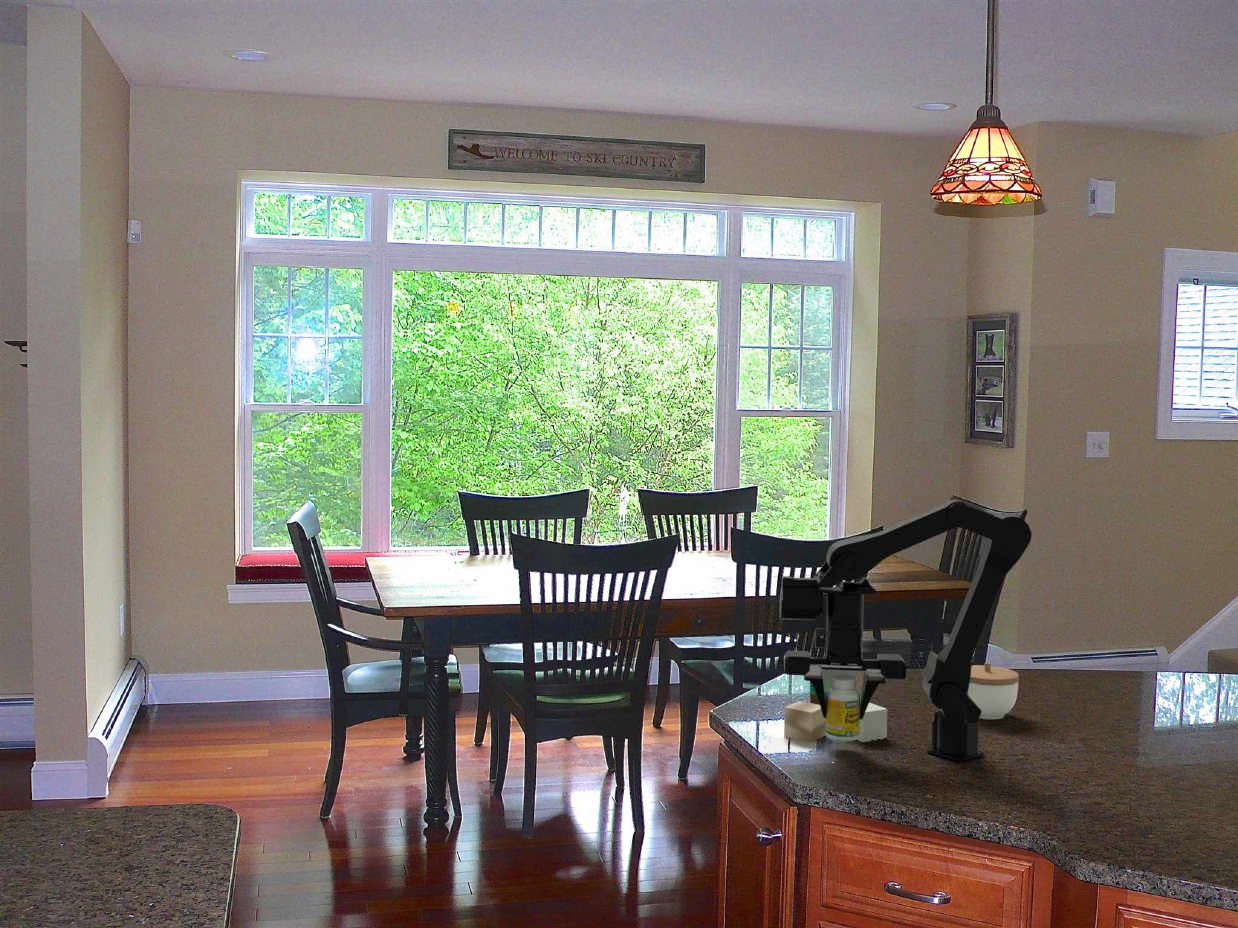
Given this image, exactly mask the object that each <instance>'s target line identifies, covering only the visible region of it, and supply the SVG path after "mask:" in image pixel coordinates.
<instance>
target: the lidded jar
mask: <svg viewBox="0 0 1238 928" xmlns="http://www.w3.org/2000/svg"><path fill="white" fill-rule="evenodd" d="M991 664H992V663H991V662H987V661H986V662H984V665H979V664H977V665H975V664H973V665H972V666H971V679H970V684H969V689H968V695H969V696H970V698H971V699H972V700H973V701H974V702H975V704H976V705H977V706H978V707H979V708H980V710H981V711H982V712H981V715H980V717H979V719H981V720H1000V719H1003V718H1004V717H1005V715H1006V714H1008V713H1009V712H1010V711H1011V710H1012V708H1013V707H1014V705H1015V704H1016V700H1017V696H1018V692H1019V691H1018V690H1019V681H1020V675H1019V673H1018V672H1017V671H1015V670H1012V669H1010V668H1006V667H1001V666H1000V667H999V666H993V665H991Z"/></svg>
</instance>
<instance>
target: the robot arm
mask: <svg viewBox="0 0 1238 928" xmlns="http://www.w3.org/2000/svg"><path fill="white" fill-rule="evenodd" d="M956 528H960V529H961V528H962V529H964V530H966V531H968V532H971V533H974V534H977V535H979V536H980V537H981V542H980V550H979V551H980V552H979V563H978V565H977V566H978V567H977V569H976V570H975V571H976V572H975V574H974V576H973V579H972V581H971V584H970V586H969V589H968V591H967V593H966V595H965V599H964V601H963V604H962V606H961V608H960V611H959V613H958V614H957V615H958V616H957V619H956V621H955V623H954V626H953V628H952V630H951V634H950V635H949V638H948V641H947V643H946V645H945V646H944V647H943V648H942V650H941V651H939V653H938V654H937V653H935V652H934V651H932V650H930V651H929V654H928V658H927V662H926V665H925V666H924V668H923V669H922V670H921V671H920V675H921V676H922V677H923V678H922V687H923V690H924V692H925V694H926V695H927V697H928V698H929V700H930V701H931V702H932V704H933V705H934V706H935V707H936V708H937V709H938V711H934V713H933V717H934V718H933V720H932V721H931V743H930V744H931V746H932V747H928V748H927V749H926V752H927V753H930V754H932V755H935V756H939V757H943V758H946V759H948V760H949V759H950V760H953V761H956V762H959V763H960V762H965V761H968V760H971V759H975V758H977V757H978V758H979V757H982V756H985V751H984V750H980V749H979V739H980V738H979V737H980V736H979V734H980V733H979V732H980V718H979V717H980V715H981V712H982V711H981V710H980V708H979V707H978V706H977V705H976V704H975V702H974V701H973V700H972V699H971V698H970V696H969V695H968V689H969V684H970V679H971V666H972V663H973V658H974V657H973V656H975V652H976V651H977V650H976V649H977V647H978V644H979V642H980V640H981V637H982V635H983V632H984V630H985V627H986V625H987V623H988V620H989V618H990V615H991V613H992V610H993V609H994V605H995V603H996V600H997V598H998V595H999V593H1000V590H1001V588H1002V586H1003V583H1004V581H1005V578H1006V576H1007V575H1008V573H1010V571H1011V570H1012V569H1013V568H1014V566H1015V565H1016V564H1017V563H1018V562H1019V561H1020V560H1021V558H1022V556H1023V555H1024V554H1025V552H1026V550H1027V549H1028V547H1029V545H1030V543H1031V541H1032V534H1033V533H1032V530H1031V528H1030V526H1029V524H1028V523H1027V522H1026V521H1025V520H1024V519H1022V518H1021V517H1019V516H1016V515H1014V514H1011V513H1007V512H998V513H995V514H992V513H989V512H987V511H985V510H981V509H978V508H976V507H973V506H970V505H968V504H967V503H965V502H963V501H961V500H958V499H949V500H946V501H945V502H944V503H943V504H940V505H939V506H937V507H934V508H932V509H930V510H927V511H925V512H923V513H920V514H918V515H915V516H913V517H911V518H909V519H907V520H904V521H902V522H899V523H897V524H895V525H893V526H890V527H888V528H886V529H883V530H881V531H879V532H874V533H870V534H863V535H858V536H854V537H849V538H845V539H841V540H838V541H836V542H834V543H833V544H831V545H830V546H829V548H828V550H827V552H826V561H825V562H824V563H823V564H822V566H821V567H820V568H819V569H818V570H817V571H816V573H815V575H814V576H813V577H794V576H789V575H788V576H787V575H783V576H782V577H781V587H780V594H779V620H792V621H793V620H796V621H797V620H799V621H816V620H817V617H820V616H821V615H823V614H824V594H826V595H827V596H826V625H825V627H826V628H822V627H821V628H820V627H816V628H815V630H814V631H815V632H814V648H815V649H819V650H822V649H823V650H824V657H820V656H817V657H816V656H810V652H809V651H808V650H787V651H786V652H785V653H784V655H783V656H784V657H783V659H784V660H783V662H784V664H783V666H784V675H787V676H803V680H804V681H806V682H808V681H809V682H810V681H811V683H812V686H813V688H814V690H815V692H816V694H817V697H818V700H819V704H820V707H821V711H822V714H823V717H824V718H826V702H825V693H824V684H823V676H822V669H824V670H851V671H859V672H860V671H861V672H863V676H862V677H863V678H862V680H863V681H862V689H861V690H862V691H861V694H860V719H863V717H864V714H865V712H866V709H867V707H868V704H869V703H870V702H871V699H872V697H873V695H874V694H875V692H876V691H877V689H878V687H879V685H880V684H881V685H882V684H884V685H885V684H886V681H887V679H891V680H905V679H906V677H907V663H906V662H905V660H904V658H903V657H902V656H901V655H900V654H899V653H877V657H876V658H875V659H872V658H869V659H868V658H863V652H864V651H863V645H864V643H863V642H864V603H865V602H864V601H865V597H864V596H865V595H877V590H876V589H875V587H874V586H873V585H872V584H870V582H869V580H868V579H867V577H865V576H864V575H865V574H867V573H868V572H869V571H871V570H874V568H876V567H877V566H878V565H880V564H881V563H882V562H883V561H885V560H886V559H887V558H889V557H890V556H892V555H894V554H898V553H899V552H902V551H904V550H907V549H908V548H911V547H914V546H916V545H918V544H920V543H923V542H926V541H927V540H931V539H933V538H935V537H937V536H939V535H941V534H944V533H946V532H949V531H951V530H953V529H956ZM862 576H864V577H863V578H862V579H860V580H859V581H855V580H857V579H859V578H861V577H862ZM839 584H840V586H837V585H839ZM832 663H833V664H832ZM835 663H836V664H835ZM837 664H838V665H837ZM839 664H840V665H839ZM848 664H854V665H848ZM855 664H856V665H855Z"/></svg>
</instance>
